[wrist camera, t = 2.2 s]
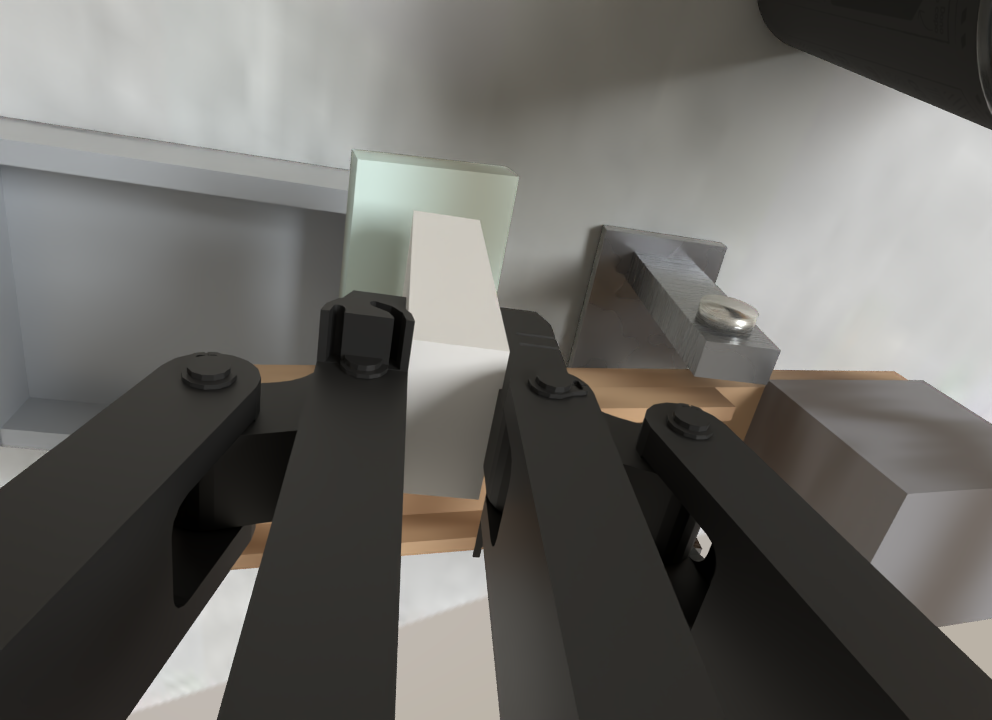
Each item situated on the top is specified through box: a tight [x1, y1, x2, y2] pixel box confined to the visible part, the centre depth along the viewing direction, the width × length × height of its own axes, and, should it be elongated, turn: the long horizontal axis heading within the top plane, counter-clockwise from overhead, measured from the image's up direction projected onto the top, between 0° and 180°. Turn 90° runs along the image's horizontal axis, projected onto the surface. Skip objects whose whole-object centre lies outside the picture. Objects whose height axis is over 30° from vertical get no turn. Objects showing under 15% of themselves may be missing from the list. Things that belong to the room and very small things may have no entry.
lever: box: [231, 149, 992, 627], centre depth 20 cm, size 24×11×7 cm, turn 80°
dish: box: [0, 116, 350, 450], centre depth 27 cm, size 14×12×3 cm
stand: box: [567, 225, 781, 554], centre depth 27 cm, size 5×10×9 cm, turn 170°
